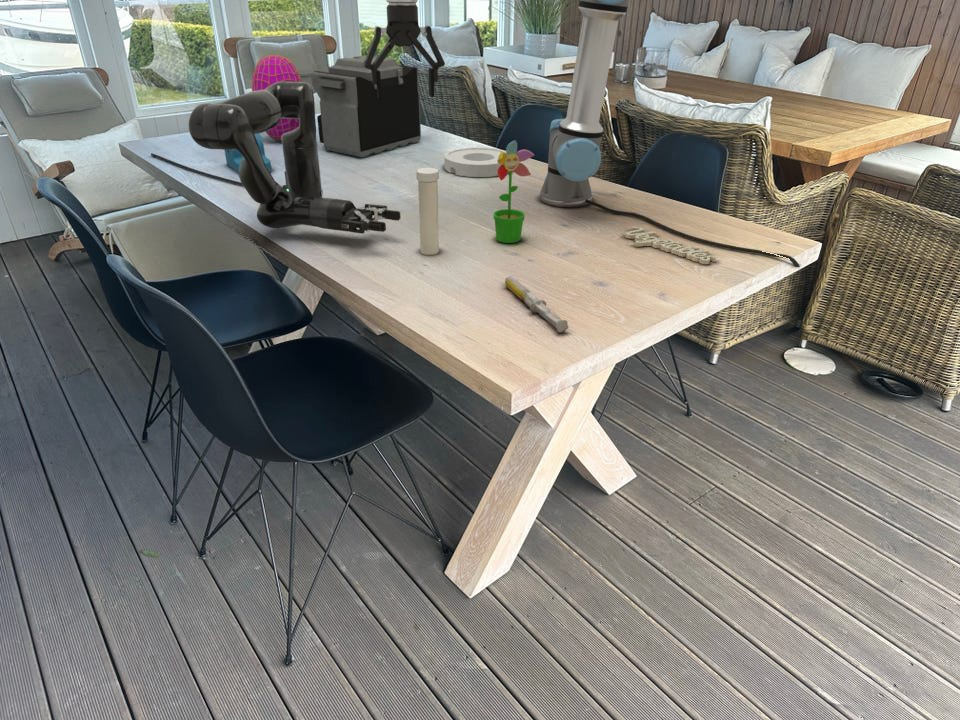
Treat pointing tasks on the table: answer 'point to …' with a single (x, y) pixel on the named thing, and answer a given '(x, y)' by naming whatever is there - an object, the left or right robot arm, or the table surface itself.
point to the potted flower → (510, 219)
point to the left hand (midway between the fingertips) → (392, 221)
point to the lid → (427, 174)
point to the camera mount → (235, 157)
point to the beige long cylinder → (428, 217)
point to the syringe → (535, 304)
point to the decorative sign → (669, 245)
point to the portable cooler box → (367, 107)
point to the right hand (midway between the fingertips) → (405, 97)
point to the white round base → (473, 162)
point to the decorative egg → (270, 73)
